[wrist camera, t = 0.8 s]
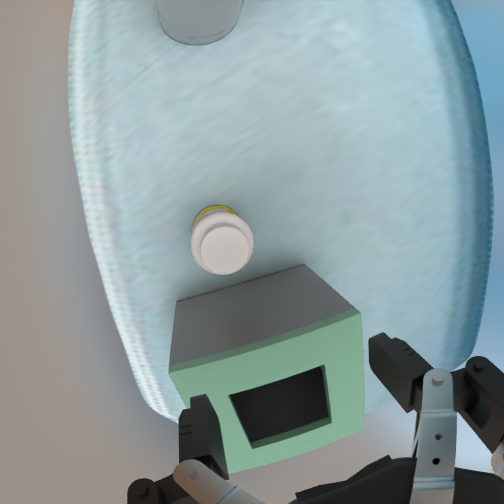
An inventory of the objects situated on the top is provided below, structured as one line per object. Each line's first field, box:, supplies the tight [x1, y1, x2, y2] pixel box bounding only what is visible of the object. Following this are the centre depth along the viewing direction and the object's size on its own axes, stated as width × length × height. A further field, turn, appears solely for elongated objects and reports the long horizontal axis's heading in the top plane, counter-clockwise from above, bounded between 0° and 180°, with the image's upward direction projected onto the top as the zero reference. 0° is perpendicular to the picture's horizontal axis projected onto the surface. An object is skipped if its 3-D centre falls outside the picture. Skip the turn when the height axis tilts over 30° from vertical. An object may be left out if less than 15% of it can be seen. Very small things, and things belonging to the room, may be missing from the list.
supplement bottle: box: [191, 205, 254, 275], centre depth 28 cm, size 6×6×10 cm
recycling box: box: [168, 264, 365, 474], centre depth 31 cm, size 16×16×14 cm
